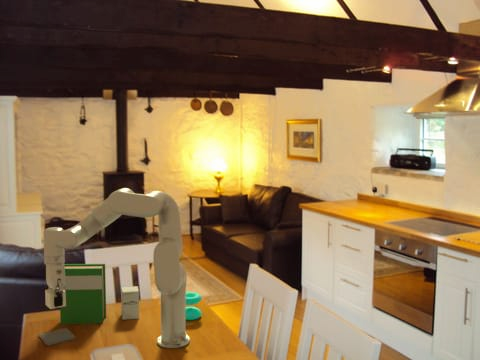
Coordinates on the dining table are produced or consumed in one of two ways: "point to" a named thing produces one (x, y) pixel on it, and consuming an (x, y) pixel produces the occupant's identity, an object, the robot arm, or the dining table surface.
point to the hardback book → (84, 294)
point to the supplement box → (130, 302)
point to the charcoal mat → (56, 336)
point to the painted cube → (50, 298)
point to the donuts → (192, 299)
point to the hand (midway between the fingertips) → (55, 303)
